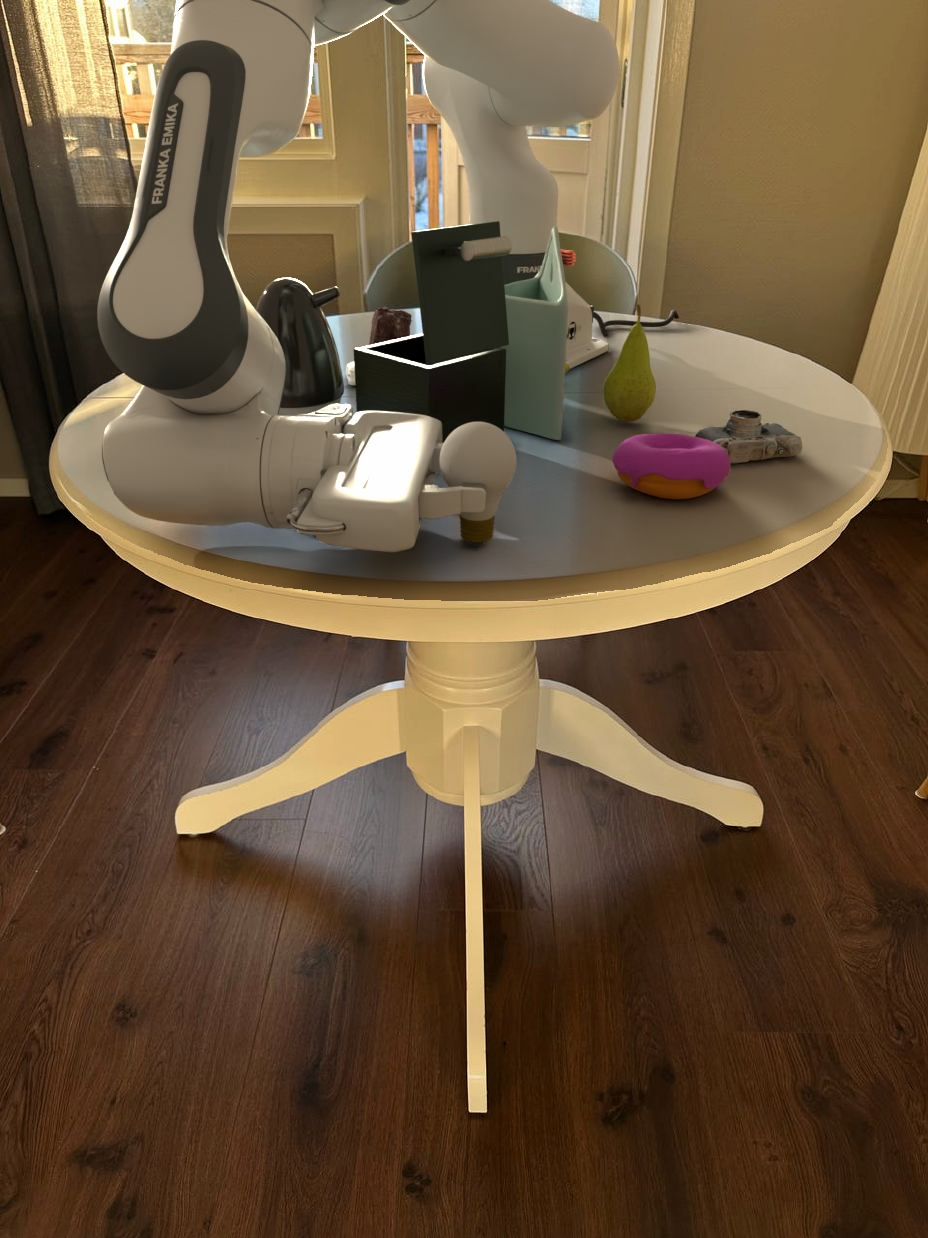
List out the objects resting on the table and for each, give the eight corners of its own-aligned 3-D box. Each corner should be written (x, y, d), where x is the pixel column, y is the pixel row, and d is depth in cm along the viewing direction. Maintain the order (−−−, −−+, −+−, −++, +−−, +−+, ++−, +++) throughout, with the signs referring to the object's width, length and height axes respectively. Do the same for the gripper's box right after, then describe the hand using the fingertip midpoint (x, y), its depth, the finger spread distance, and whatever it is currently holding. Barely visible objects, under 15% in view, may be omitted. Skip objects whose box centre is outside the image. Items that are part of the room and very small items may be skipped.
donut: (739, 481, 86) (747, 434, 83) (701, 517, 78) (709, 467, 76) (637, 459, 90) (642, 414, 88) (592, 492, 83) (596, 444, 81)
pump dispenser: (341, 442, 94) (331, 287, 86) (240, 441, 94) (222, 286, 86) (353, 412, 103) (345, 269, 95) (261, 411, 103) (246, 268, 95)
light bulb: (507, 563, 70) (511, 438, 65) (432, 556, 71) (431, 433, 66) (518, 532, 75) (523, 414, 70) (448, 526, 76) (448, 409, 71)
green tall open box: (471, 397, 109) (472, 217, 99) (537, 395, 109) (544, 216, 99) (486, 442, 95) (489, 237, 85) (561, 440, 95) (573, 236, 85)
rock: (354, 315, 111) (354, 380, 115) (405, 320, 110) (403, 385, 114) (372, 296, 120) (371, 357, 124) (419, 301, 119) (417, 362, 124)
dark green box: (358, 445, 94) (353, 348, 89) (432, 422, 100) (431, 331, 95) (430, 471, 87) (428, 368, 83) (503, 445, 94) (506, 348, 89)
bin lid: (410, 231, 78) (447, 228, 75) (494, 221, 85) (531, 217, 82) (425, 364, 83) (461, 365, 80) (504, 344, 89) (539, 345, 86)
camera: (807, 459, 91) (815, 418, 89) (709, 465, 89) (715, 424, 87) (783, 442, 95) (790, 402, 93) (689, 448, 93) (694, 408, 91)
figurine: (397, 355, 116) (365, 351, 117) (366, 373, 110) (333, 369, 111) (398, 374, 117) (366, 369, 119) (368, 393, 111) (335, 388, 113)
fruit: (616, 431, 97) (627, 315, 91) (591, 415, 102) (599, 304, 96) (663, 425, 99) (676, 311, 93) (635, 410, 104) (647, 300, 98)
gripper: (274, 485, 61) (480, 493, 60) (337, 397, 79) (497, 401, 78) (283, 569, 64) (479, 578, 63) (341, 466, 82) (495, 471, 81)
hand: (489, 480), depth 71 cm, fingers closed on light bulb, 6 cm apart
